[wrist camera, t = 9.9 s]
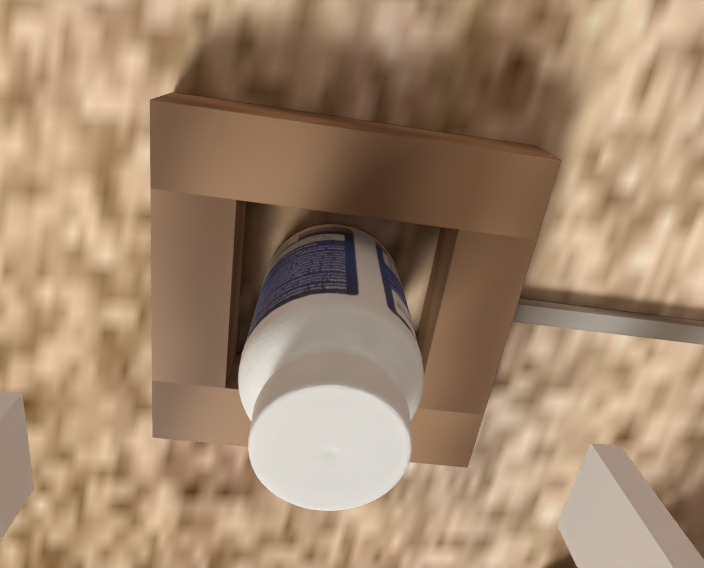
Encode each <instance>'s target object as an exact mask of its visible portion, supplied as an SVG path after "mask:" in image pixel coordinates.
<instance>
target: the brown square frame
mask: <svg viewBox="0 0 704 568" xmlns="http://www.w3.org/2000/svg"><path fill="white" fill-rule="evenodd" d="M560 163H561V160H560V159H558V158H556V157H555V156H553V155H551V154H549V153H547V152H545V151H544V150H542V149H540V148H538V147H536V146H532V145H525V144H519V143H512V142H505V141H498V140H492V139H485V138H478V137H471V136H465V135H458V134H451V133H444V132H438V131H431V130H424V129H417V128H411V127H404V126H397V125H390V124H384V123H377V122H370V121H364V120H357V119H350V118H343V117H337V116H330V115H323V114H316V113H310V112H303V111H296V110H289V109H283V108H276V107H269V106H262V105H256V104H249V103H242V102H235V101H229V100H222V99H215V98H208V97H202V96H195V95H188V94H181V93H175V92H172V93H169V94H166V95H163V96H160V97H157V98H154V99H151V100H150V168H151V293H152V418H153V437H154V438H165V439H175V440H186V441H196V442H206V443H217V444H227V445H238V446H248V438H249V433H250V427H251V420H250V419H249V417H248V415H247V414H246V411H245V409H244V407H243V404H242V401H241V398H240V393H239V386H238V374H239V366H240V361H241V356H242V354H236V350H237V335H238V320H239V305H240V290H241V275H242V260H243V245H244V230H245V216H246V201H249V202H257V203H264V204H272V205H279V206H287V207H294V208H302V209H309V210H317V211H324V212H332V213H339V214H347V215H354V216H362V217H369V218H377V219H384V220H392V221H399V222H407V223H414V224H422V225H429V226H437V227H441V231H440V235H439V240H438V244H437V248H436V253H435V257H434V262H433V266H432V271H431V275H430V280H429V284H428V288H427V293H426V297H425V302H424V306H423V311H422V315H421V320H420V324H419V328H418V333H417V337H416V339H417V343H418V346H419V349H420V352H421V356H422V364H423V371H424V385H423V392H422V397H421V400H420V403H419V406H418V408H417V410H416V413H415V414H414V416H413V418H412V419H411V421H410V428H411V437H412V452H411V457H410V461H409V462H416V463H426V464H437V465H447V466H458V467H468V465H469V461H470V458H471V455H472V451H473V448H474V445H475V442H476V438H477V435H478V432H479V428H480V425H481V422H482V419H483V415H484V412H485V409H486V405H487V402H488V399H489V396H490V392H491V389H492V386H493V382H494V379H495V376H496V373H497V369H498V366H499V363H500V360H501V356H502V353H503V350H504V346H505V343H506V340H507V337H508V333H509V330H510V327H511V323H512V322H519V323H527V324H536V325H544V326H553V327H561V328H569V329H578V330H586V331H594V332H603V333H611V334H619V335H628V336H636V337H645V338H653V339H661V340H670V341H678V342H686V343H695V344H703V345H704V321H697V320H689V319H681V318H673V317H665V316H657V315H649V314H641V313H632V312H624V311H616V310H608V309H600V308H592V307H584V306H576V305H568V304H560V303H551V302H543V301H535V300H527V299H519V297H520V294H521V291H522V287H523V284H524V281H525V277H526V274H527V271H528V268H529V264H530V261H531V258H532V254H533V251H534V248H535V245H536V241H537V238H538V235H539V232H540V228H541V225H542V222H543V218H544V215H545V212H546V209H547V205H548V202H549V199H550V195H551V192H552V189H553V186H554V182H555V179H556V176H557V172H558V169H559V166H560Z"/></svg>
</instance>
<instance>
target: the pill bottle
mask: <svg viewBox="0 0 704 568" xmlns="http://www.w3.org/2000/svg"><path fill="white" fill-rule="evenodd" d="M423 385H424V371H423V364H422V356H421V352H420V349H419V346H418V343H417V339H416V336H415V332H414V328H413V324H412V320H411V317H410V313H409V310H408V306H407V302H406V299H405V295H404V291H403V287H402V284H401V280H400V276H399V273H398V271H397V268H396V266H395V263H394V261H393V259H392V257H391V256H390V254H389V252H388V251H387V250H386V248H385V247H384V246H383V245H382V244H381V243H380V242H379V241H378V240H377V239H375V238H374V237H372V236H371V235H369V234H367V233H365V232H363V231H361V230H359V229H357V228H354V227H350V226H345V225H340V224H324V225H317V226H312V227H309V228H307V229H304V230H302V231H300V232H298V233H296V234H295V235H293V236H291V237H290V238H289V239H288V240H287V241H286V242H284V243H283V244H282V245H281V247H280V248H279V249H278V250H277V252H276V253H275V254H274V256H273V258H272V259H271V261H270V264H269V266H268V269H267V271H266V274H265V277H264V281H263V285H262V288H261V291H260V295H259V298H258V302H257V305H256V309H255V312H254V316H253V319H252V323H251V326H250V329H249V333H248V336H247V339H246V342H245V346H244V348H243V351H242V356H241V361H240V366H239V374H238V386H239V393H240V398H241V401H242V404H243V407H244V409H245V411H246V414H247V415H248V417H249V419H250V420H251V427H250V433H249V438H248V450H249V457H250V461H251V465H252V467H253V469H254V471H255V473H256V475H257V477H258V478H259V480H260V481H261V482H262V483H263V485H265V486H266V487H267V488H268V489H269V490H270V491H271V492H272V493H274V494H275V495H277V496H278V497H280V498H282V499H283V500H285V501H287V502H289V503H292V504H294V505H297V506H300V507H304V508H308V509H314V510H325V511H329V510H330V511H332V510H333V511H335V510H344V509H349V508H354V507H359V506H361V505H364V504H367V503H369V502H372V501H373V500H375V499H377V498H379V497H381V496H382V495H384V494H385V493H386V492H388V491H389V490H390V489H391V488H392V487H393V486H395V485H396V484H397V482H398V481H399V480H400V479H401V477H402V476H403V474H404V472H405V470H406V468H407V466H408V464H409V461H410V457H411V452H412V437H411V428H410V421H411V419H412V418H413V416H414V414H415V413H416V410H417V408H418V406H419V403H420V400H421V397H422V392H423Z"/></svg>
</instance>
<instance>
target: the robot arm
mask: <svg viewBox="0 0 704 568" xmlns="http://www.w3.org/2000/svg"><path fill="white" fill-rule="evenodd" d="M33 489H34V485H33V476H32V468H31V460H30V452H29V444H28V436H27V428H26V420H25V412H24V403H23V395H22V393H12V392H0V540H1V539H2V537H3V536H4V534H5V533H6V531H7V530H8V528H9V526H10V525H11V523H12V522H13V520H14V519H15V517H16V516H17V514H18V513H19V511H20V509H21V508H22V506H23V505H24V503H25V502H26V500H27V499H28V497H29V496H30V494H31V492H32V491H33ZM557 526H558V528H559V530H560V533H561V535H562V537H563V539H564V541H565V543H566V545H567V547H568V549H569V551H570V553H571V555H572V558H573V560H574V562H575V564H576V566H577V568H704V559H703V558H702V557H701V555H700V554H699V553H698V551H697V550H696V548H695V547H694V546H693V544H692V543H691V542H690V540H689V539H688V537H687V536H686V535H685V533H684V532H683V531H682V529H681V528H680V526H679V525H678V524H677V522H676V521H675V520H674V518H673V517H672V516H671V514H670V513H669V511H668V510H667V509H666V507H665V506H664V505H663V503H662V502H661V500H660V499H659V498H658V496H657V495H656V494H655V492H654V491H653V489H652V488H651V487H650V485H649V484H648V483H647V481H646V480H645V479H644V477H643V476H642V474H641V473H640V472H639V470H638V469H637V468H636V466H635V465H634V463H633V462H632V461H631V459H630V458H629V457H628V455H627V454H626V453H625V451H624V450H623V448H622V447H621V446H616V445H605V444H594V443H591V445H590V447H589V449H588V452H587V454H586V457H585V459H584V462H583V464H582V466H581V469H580V471H579V474H578V476H577V479H576V481H575V483H574V486H573V488H572V491H571V493H570V496H569V498H568V501H567V503H566V505H565V508H564V510H563V513H562V515H561V518H560V520H559V522H558V525H557Z"/></svg>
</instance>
